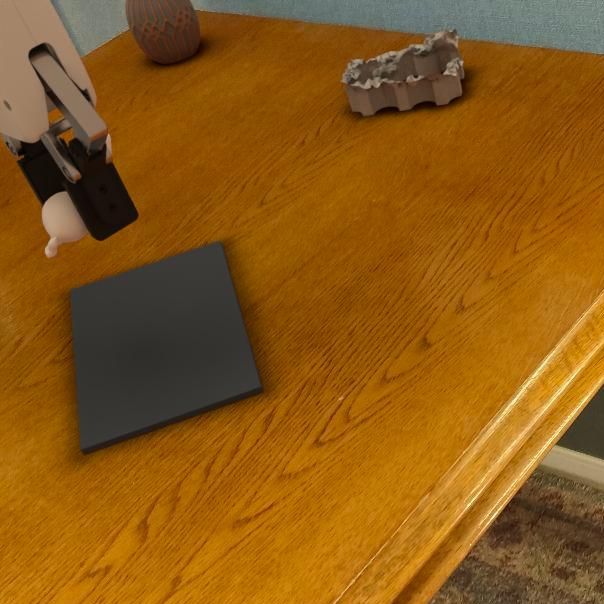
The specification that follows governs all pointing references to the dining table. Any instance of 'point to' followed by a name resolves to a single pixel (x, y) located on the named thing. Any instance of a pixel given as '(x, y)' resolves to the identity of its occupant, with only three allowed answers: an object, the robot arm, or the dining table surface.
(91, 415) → the mat
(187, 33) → the vase
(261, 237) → the dining table surface
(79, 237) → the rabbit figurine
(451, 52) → the egg carton
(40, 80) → the robot arm
